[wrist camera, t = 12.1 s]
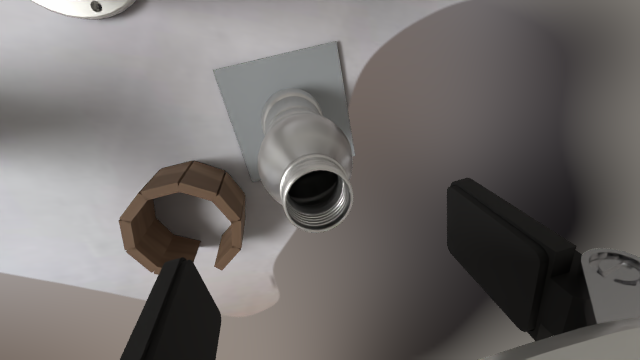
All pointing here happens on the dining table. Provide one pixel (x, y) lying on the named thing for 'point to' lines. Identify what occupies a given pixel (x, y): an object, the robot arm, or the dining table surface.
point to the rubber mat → (272, 76)
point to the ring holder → (161, 244)
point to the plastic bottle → (305, 161)
